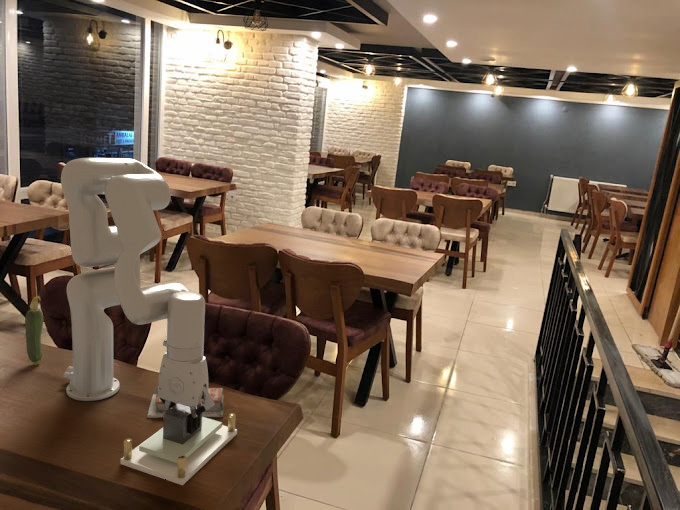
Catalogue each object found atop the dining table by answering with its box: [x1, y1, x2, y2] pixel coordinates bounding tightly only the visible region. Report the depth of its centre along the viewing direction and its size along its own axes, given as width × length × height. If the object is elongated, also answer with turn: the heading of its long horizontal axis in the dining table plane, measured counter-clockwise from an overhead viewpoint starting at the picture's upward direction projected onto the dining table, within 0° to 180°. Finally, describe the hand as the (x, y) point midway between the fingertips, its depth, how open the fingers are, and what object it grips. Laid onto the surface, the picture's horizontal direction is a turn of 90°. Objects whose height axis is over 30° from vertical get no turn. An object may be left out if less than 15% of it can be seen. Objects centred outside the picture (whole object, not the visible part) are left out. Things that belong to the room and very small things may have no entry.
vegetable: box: [24, 295, 44, 366], centre depth 152 cm, size 4×4×20 cm
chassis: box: [120, 412, 238, 486], centre depth 122 cm, size 15×21×5 cm
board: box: [138, 403, 223, 464], centre depth 121 cm, size 10×16×7 cm, turn 160°
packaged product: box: [147, 387, 225, 419], centre depth 139 cm, size 18×5×10 cm
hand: (183, 426), depth 121 cm, fingers closed on board, 5 cm apart
